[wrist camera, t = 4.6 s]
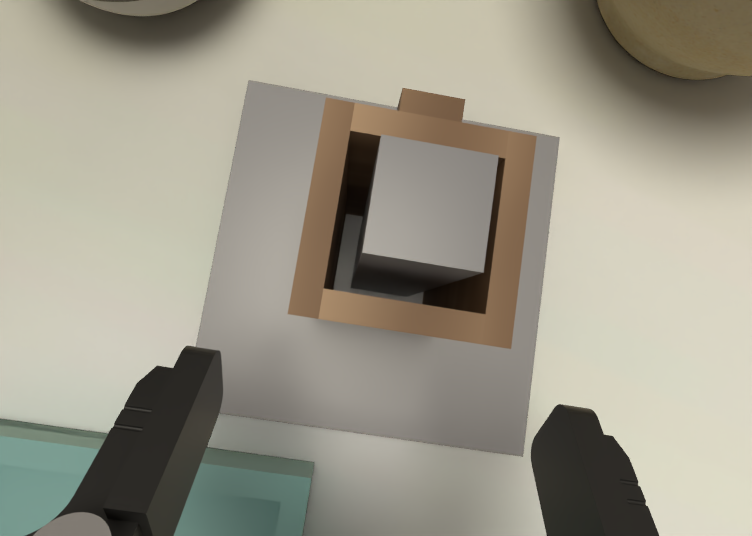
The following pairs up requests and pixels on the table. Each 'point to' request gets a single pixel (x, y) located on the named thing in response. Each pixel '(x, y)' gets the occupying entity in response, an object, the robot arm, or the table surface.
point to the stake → (369, 286)
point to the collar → (349, 195)
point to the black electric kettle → (139, 6)
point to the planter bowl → (684, 35)
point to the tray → (203, 506)
